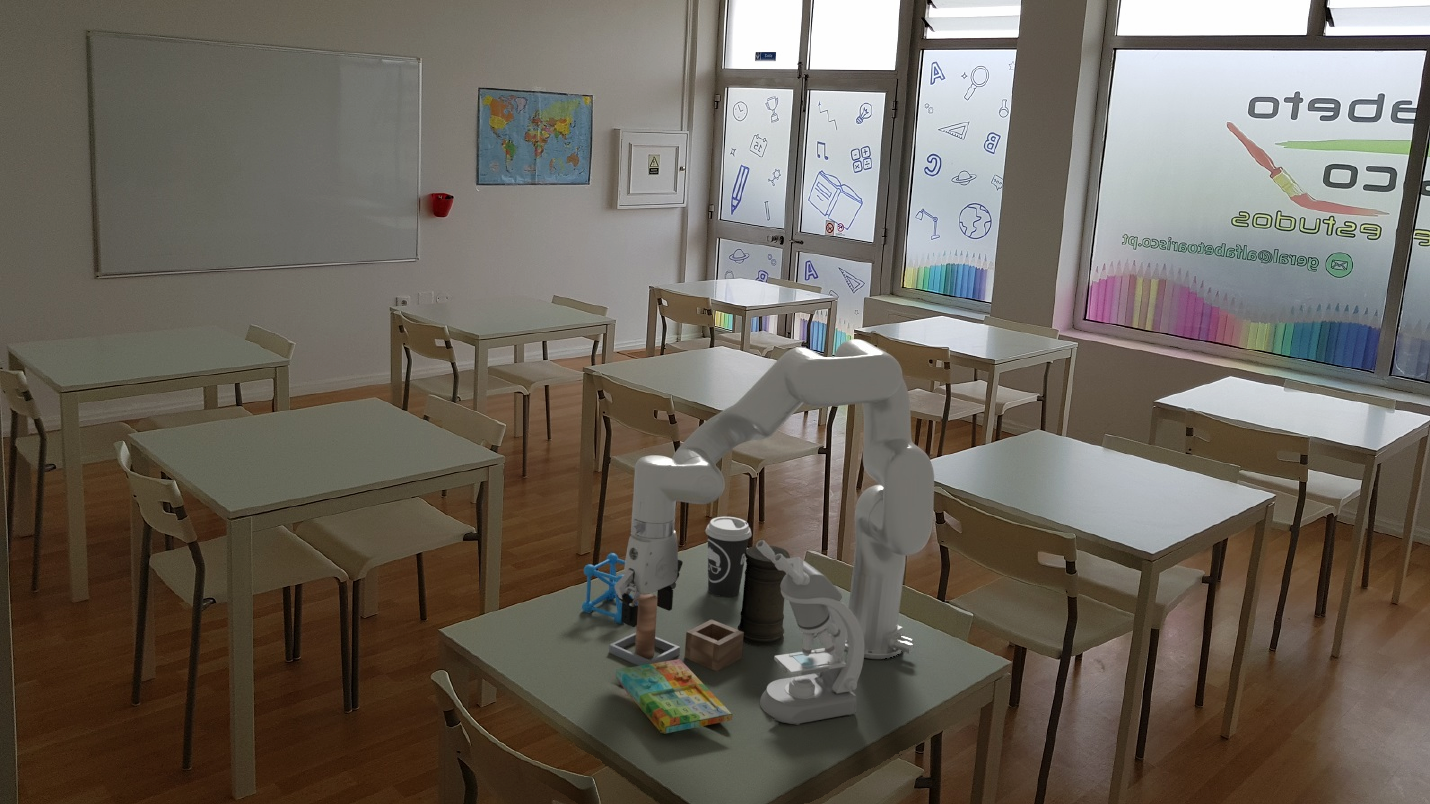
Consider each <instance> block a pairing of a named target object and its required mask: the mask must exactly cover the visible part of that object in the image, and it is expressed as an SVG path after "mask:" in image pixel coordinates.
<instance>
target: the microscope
mask: <svg viewBox="0 0 1430 804" xmlns="http://www.w3.org/2000/svg"><path fill="white" fill-rule="evenodd" d="M755 546H756V548H757V549H758V550H759V551H760V552H761V553H762V554H763V555H764V556H765V557H767V558H768V559H770V560H771V561H772V562H773V563H774V564H775V567H776V568H777V569H778V570H783V571H785V573H787V574H786V575H785V576H784V578H783V580H782V582H781V585H780V588H781V593H782V596H783V597H784V600H785V601H788V602H789V605H790V607H791V609H792V613H793V616H794V619H795V621H796V624H797V627H798V629H799V631H801V632H802V640H801V643H802V647H801V648H802V649H801V651H797V652H792V653H784V654H778V655H774V658H773V660H774V661H775V662H776V663H777V666H778V667H779V668H780V669H781V670H782V671H783V672H785V673H788V674H789V675H790V676H792V677H786V678H785V677H784V678H780V679H779V678H778V679H776V680H773V681H771V682H769V683H768V685H767V686H766V689H765V690H764V691H763V692H762V694H761V695H760V698H759V699H760V700H759V705H760V707H761V710H763V711H764V712H765V713H766V714H767V715H769V716H771V717H772V719H773V720H775V721H778V722H780V723H784V724H787V725H788V724H789V725H796V726H799V725H800V724H804V723H809V722H815V721H820V720H825V719H831V718H837V717H841V716H842V717H843V716H848V715H849V716H853V715H854V714H855V713H856V710H857V702H858V699H857V698H858V697H857V694H856V693H854V692H853V690H857V688H858V681H859V678H860V675H861V672H862V668H863V666H864V665H863V664H864V660H865V659H864V638H863V633H862V630H861V627H860V625H859V623H858V621H857V619H856V617H855V616H854V614H853V613H852V611H851V610H850V609H849V606H847V604H845V603H844V602H842V599H843V593H841V592H840V590H839V589H838V588H837V587H836V586H835V585H834V584H833V583H832V582H831V580H829V578H828V577H827V576H826V575H824V574H823V573H822V572H820V571H819V570H817V569H816V568H815V567H813V566H812V565H811V564H810V563H808V562H807V561H806V560H803V559H802V558H801V557H799V556H793V557H790V558H787V559H786V558H785V557H784V556H783V555H782V554H777V555H775V553H774V552H773V551H772V549H771V547H770V546H771V545H770V546H769V544H768V543H767V542H766V541H765V540H764V539H763V540H762V539H760V540H758V541H757V542H756V545H755ZM846 630H847V633H848V637H849V649H848V652H847V655H846V657H845V660H843V657H844V653H845V644H846ZM816 638H818V640H819V642H820V644H821V645H822V646H823V648H817V649H815V648H814V649H812V648H813V645H814V640H815V639H816ZM795 675H798V676H795Z"/></svg>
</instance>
